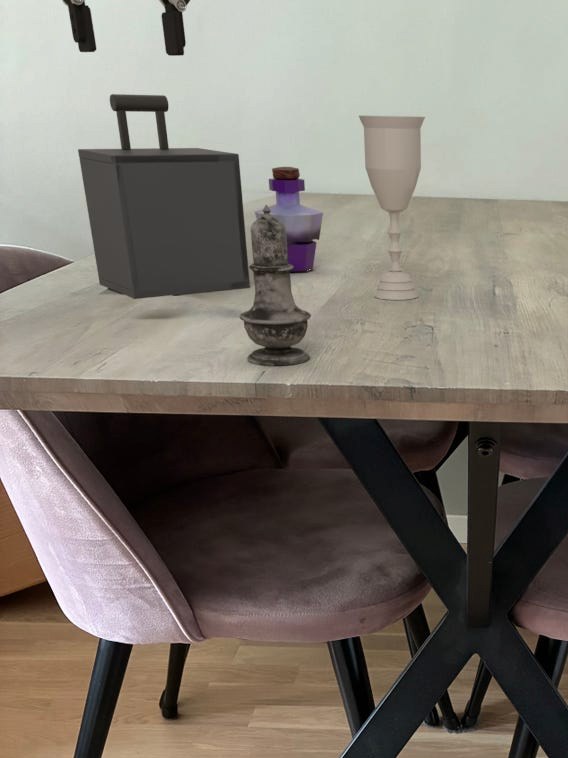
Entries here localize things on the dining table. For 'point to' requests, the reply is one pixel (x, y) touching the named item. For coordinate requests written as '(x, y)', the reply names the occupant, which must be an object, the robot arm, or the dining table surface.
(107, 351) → the dining table surface
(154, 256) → the dark grey rectangular box
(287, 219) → the potion bottle
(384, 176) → the chalice
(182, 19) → the robot arm
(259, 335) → the salt shaker
